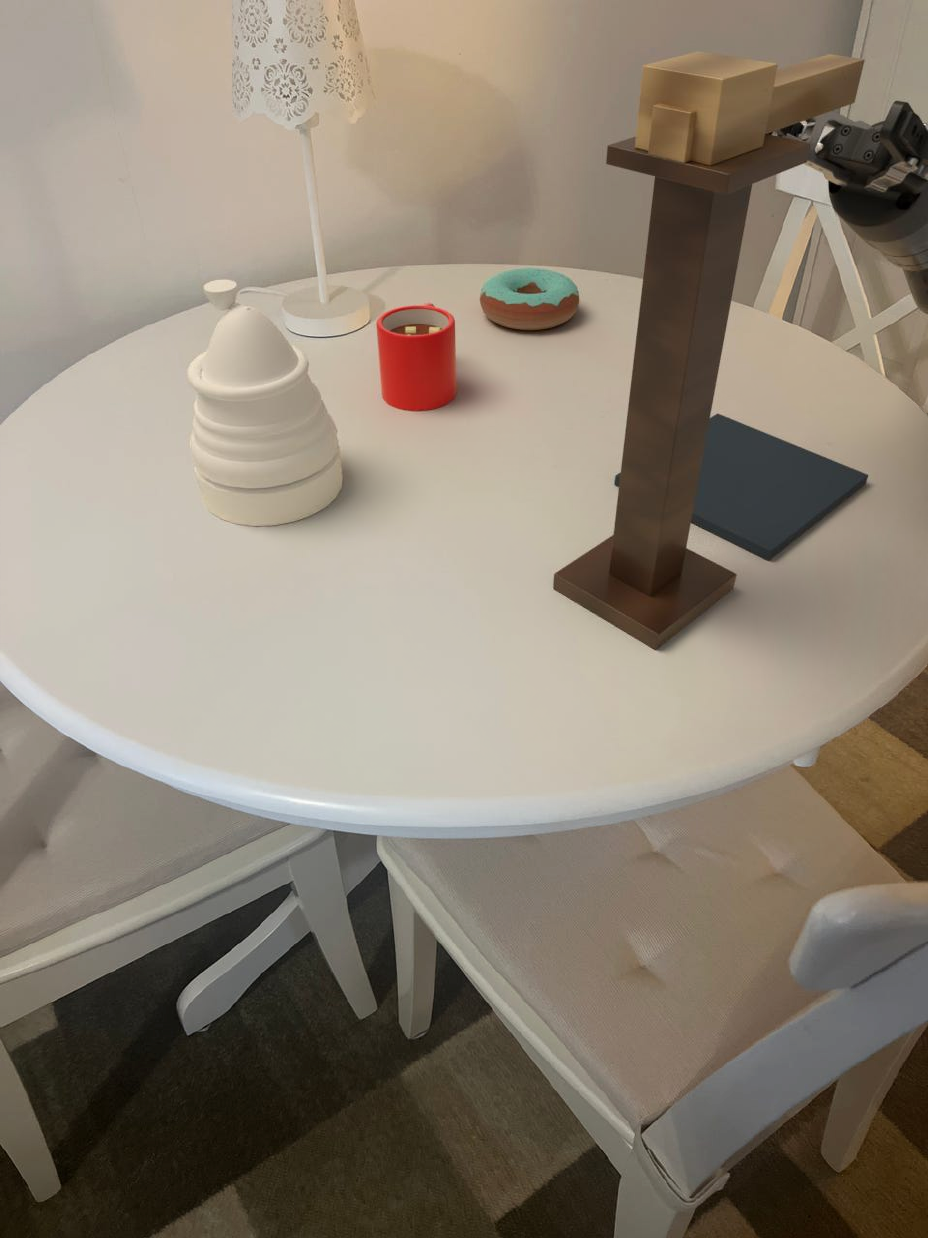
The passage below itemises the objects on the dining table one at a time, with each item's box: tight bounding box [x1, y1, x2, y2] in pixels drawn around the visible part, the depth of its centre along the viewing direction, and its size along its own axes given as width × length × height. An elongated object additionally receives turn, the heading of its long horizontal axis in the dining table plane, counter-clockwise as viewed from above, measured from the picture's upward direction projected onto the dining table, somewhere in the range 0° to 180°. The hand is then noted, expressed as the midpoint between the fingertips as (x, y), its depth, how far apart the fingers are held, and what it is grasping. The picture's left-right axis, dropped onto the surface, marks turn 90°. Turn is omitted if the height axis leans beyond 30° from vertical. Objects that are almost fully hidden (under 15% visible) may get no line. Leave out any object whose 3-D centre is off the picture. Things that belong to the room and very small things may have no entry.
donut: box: [479, 267, 580, 331], centre depth 111 cm, size 12×12×4 cm
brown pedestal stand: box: [552, 134, 811, 651], centre depth 62 cm, size 10×10×32 cm
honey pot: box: [186, 279, 344, 527], centre depth 78 cm, size 13×13×18 cm
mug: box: [375, 302, 457, 412], centre depth 96 cm, size 8×12×8 cm, turn 172°
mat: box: [613, 413, 869, 562], centre depth 83 cm, size 16×16×1 cm
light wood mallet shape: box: [635, 50, 866, 166], centre depth 53 cm, size 5×18×4 cm, turn 134°
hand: (828, 106), depth 58 cm, fingers open, 8 cm apart
